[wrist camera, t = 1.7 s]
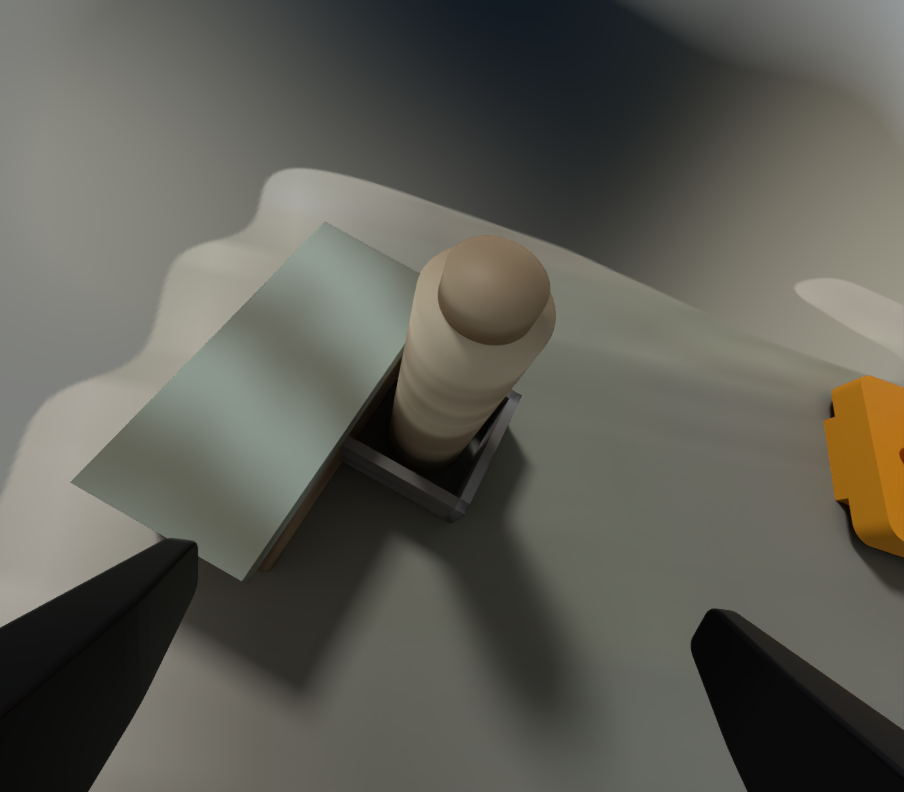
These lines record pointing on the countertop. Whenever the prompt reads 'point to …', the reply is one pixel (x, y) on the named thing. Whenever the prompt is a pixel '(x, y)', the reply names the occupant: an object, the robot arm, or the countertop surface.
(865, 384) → the bracket
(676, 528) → the countertop surface
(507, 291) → the wooden pepper mill
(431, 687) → the countertop surface
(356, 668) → the countertop surface
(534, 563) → the countertop surface
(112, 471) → the green slab with socket
